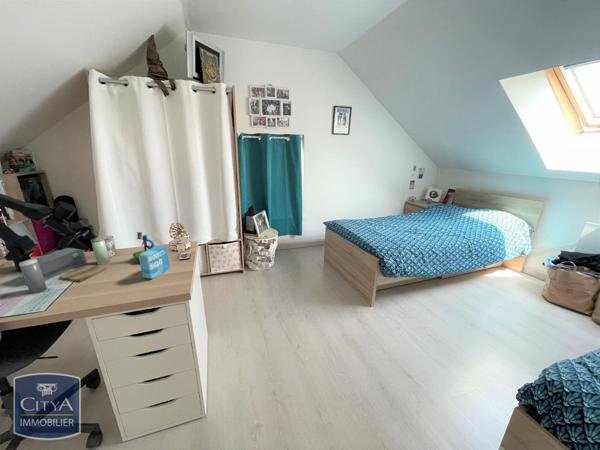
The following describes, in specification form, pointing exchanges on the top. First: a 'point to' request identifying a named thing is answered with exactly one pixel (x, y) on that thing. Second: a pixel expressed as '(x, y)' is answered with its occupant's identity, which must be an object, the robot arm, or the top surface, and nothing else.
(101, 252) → the sage canister
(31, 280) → the grey cylinder
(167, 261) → the data package
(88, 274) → the walnut plate
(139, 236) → the pirate figurine
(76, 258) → the slate unit
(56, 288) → the top surface
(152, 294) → the top surface
